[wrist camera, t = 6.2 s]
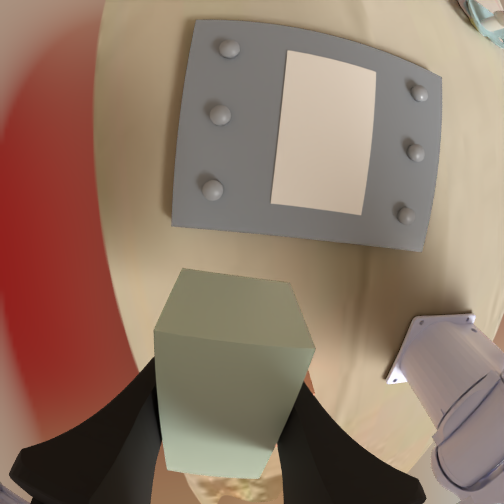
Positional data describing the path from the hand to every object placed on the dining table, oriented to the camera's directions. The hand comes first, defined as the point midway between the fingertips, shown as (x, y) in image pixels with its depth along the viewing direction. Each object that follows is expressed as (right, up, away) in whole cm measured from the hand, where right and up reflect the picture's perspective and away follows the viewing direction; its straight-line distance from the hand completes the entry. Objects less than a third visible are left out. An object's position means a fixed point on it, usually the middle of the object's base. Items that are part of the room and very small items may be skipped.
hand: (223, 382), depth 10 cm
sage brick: (0, 0, +1) cm, 2 cm away
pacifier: (+24, +29, +2) cm, 38 cm away
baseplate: (+6, +13, +6) cm, 15 cm away
